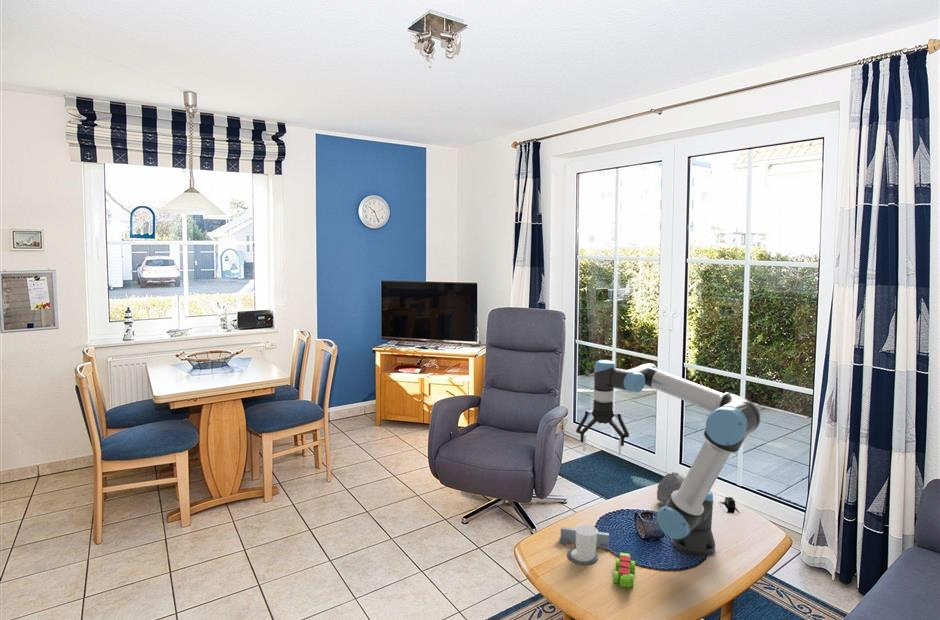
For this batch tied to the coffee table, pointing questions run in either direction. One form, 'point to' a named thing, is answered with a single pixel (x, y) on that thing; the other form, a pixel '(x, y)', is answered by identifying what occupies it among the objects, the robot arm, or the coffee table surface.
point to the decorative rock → (668, 486)
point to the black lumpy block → (729, 505)
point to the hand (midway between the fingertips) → (601, 451)
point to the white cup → (586, 541)
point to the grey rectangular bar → (570, 536)
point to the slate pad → (574, 558)
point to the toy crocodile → (624, 571)
